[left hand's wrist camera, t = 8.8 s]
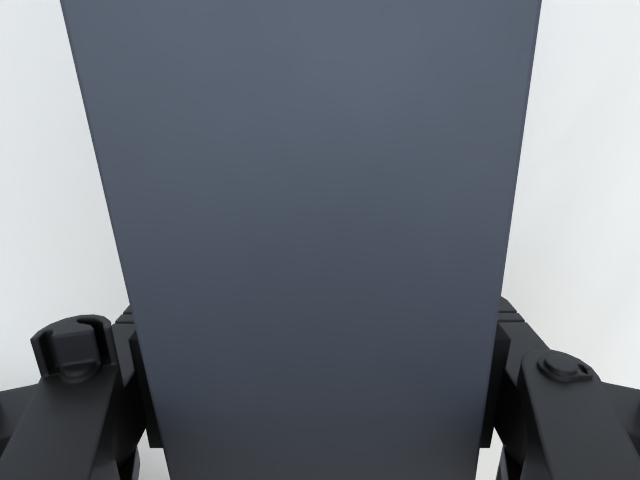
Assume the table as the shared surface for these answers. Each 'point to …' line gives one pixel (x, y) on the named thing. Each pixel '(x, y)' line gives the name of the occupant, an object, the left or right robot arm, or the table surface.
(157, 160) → the post
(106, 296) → the table surface
